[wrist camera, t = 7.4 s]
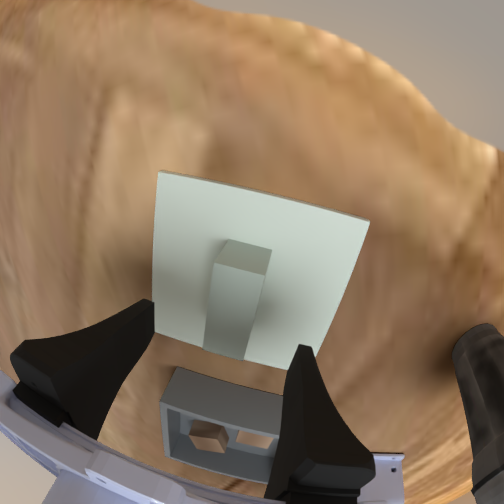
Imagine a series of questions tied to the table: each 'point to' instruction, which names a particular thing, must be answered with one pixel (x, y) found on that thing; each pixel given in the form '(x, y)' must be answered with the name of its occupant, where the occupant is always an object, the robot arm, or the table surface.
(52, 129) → the table surface
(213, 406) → the storage box
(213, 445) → the wooden block
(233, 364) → the table surface
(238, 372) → the table surface
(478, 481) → the beverage cup
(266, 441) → the wooden block
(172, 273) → the lid
